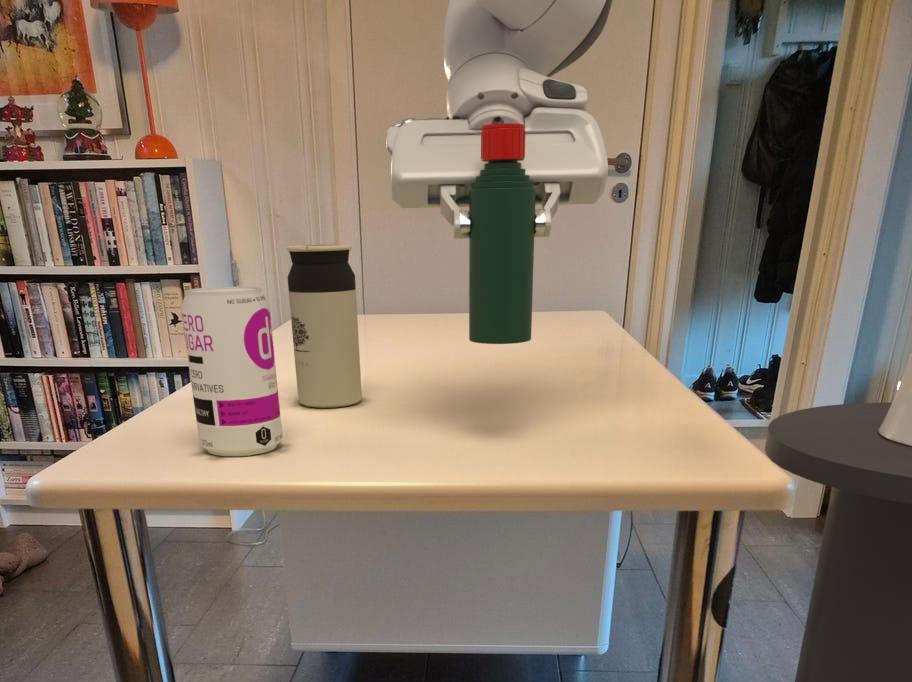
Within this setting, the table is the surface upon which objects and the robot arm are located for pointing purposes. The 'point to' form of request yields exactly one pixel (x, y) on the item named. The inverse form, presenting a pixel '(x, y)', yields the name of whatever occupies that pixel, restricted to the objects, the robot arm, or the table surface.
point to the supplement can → (232, 369)
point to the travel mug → (324, 325)
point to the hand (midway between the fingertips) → (502, 232)
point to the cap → (503, 142)
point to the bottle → (501, 254)
